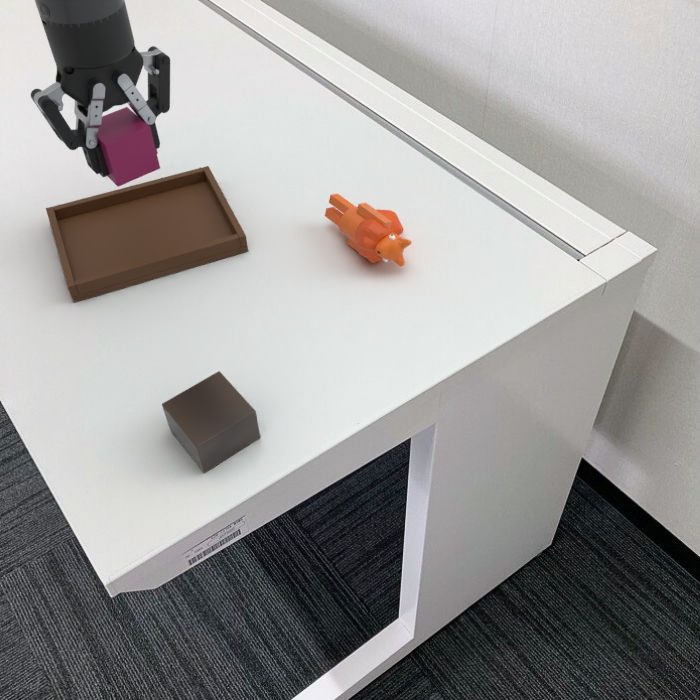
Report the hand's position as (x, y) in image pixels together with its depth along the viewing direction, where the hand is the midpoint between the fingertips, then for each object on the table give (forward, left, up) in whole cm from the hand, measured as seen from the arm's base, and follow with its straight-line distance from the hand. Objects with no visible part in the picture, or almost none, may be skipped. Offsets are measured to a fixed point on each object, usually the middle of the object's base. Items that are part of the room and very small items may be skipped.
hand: (126, 162), depth 81 cm
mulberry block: (0, 0, -1) cm, 1 cm away
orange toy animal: (+23, -12, -10) cm, 28 cm away
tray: (0, 0, -10) cm, 10 cm away
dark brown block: (-1, -30, -10) cm, 32 cm away
